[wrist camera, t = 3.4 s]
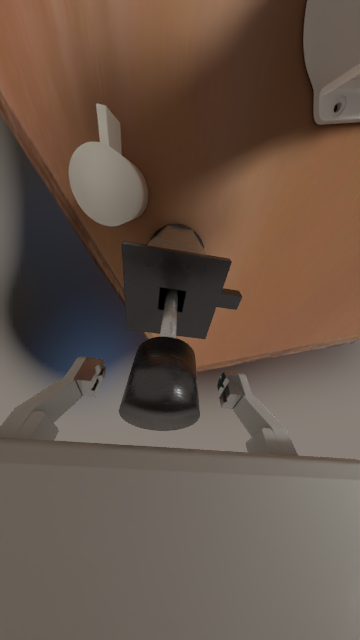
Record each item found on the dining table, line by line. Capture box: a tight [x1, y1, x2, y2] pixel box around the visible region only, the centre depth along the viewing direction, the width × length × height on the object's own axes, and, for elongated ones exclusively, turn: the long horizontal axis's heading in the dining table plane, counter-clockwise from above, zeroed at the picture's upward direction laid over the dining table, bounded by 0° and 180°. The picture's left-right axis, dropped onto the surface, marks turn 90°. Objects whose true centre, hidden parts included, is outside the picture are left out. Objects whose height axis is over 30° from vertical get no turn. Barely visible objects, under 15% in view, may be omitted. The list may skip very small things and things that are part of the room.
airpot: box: [122, 224, 242, 339], centre depth 26 cm, size 15×12×18 cm
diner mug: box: [69, 103, 148, 226], centre depth 22 cm, size 8×11×9 cm
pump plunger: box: [119, 288, 200, 431], centre depth 17 cm, size 4×4×21 cm
